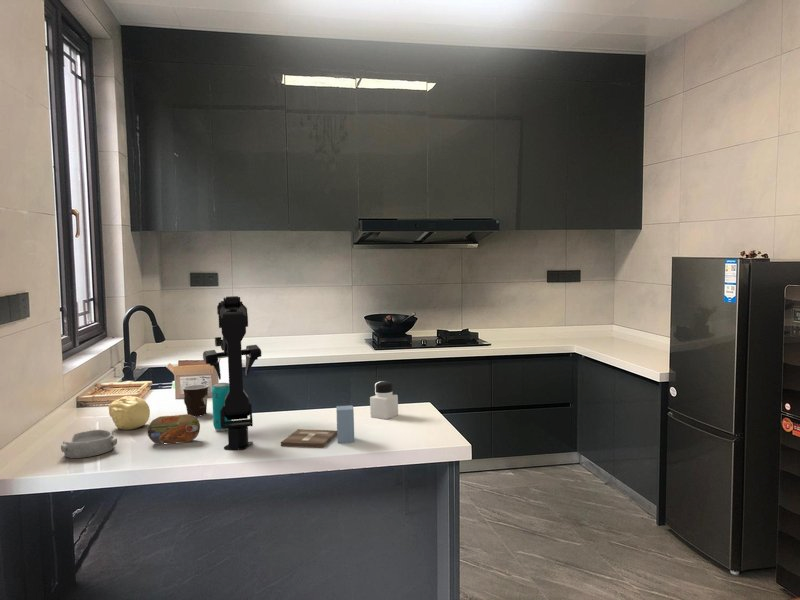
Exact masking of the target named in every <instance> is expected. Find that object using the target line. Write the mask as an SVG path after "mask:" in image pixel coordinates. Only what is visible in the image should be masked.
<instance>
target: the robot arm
mask: <svg viewBox="0 0 800 600" xmlns="http://www.w3.org/2000/svg"><path fill="white" fill-rule="evenodd" d="M216 310H217V312H216V313H217V315H218V329H221V335H222V337H221V336H220V337H218V336H217V337H214V346H215V347H220V348H221V351H222V352H217V350H215V349H210V350H204V351H203V353H202V359H203V361H204V362H205V364H206V365H209V366H211V367H214V370H215V373H216V375H217V377H218V380H219V381H220V380H221V378H222V377H221V376H222V374H221V367H220V362H219V359H223V358H227V366H228V383H229V391H228V393H227V394H226V396H225V405H222V409H221V410H220V420H221V428H223V429H225V428H228V430H227V436H228V437H227V439H228V440H227V442H228V444H227V445H225V446H223V449H224V450H246V449H247V448H249V447H250V446H251V445H253V444H254V441H249V427H253V426H254V425H253V424H254V423H253V410H252V402H250V399H249V395H248V394H247V392H245V389H244V384H243V383H244V381H243V380H244V379H243V377H244V376H243V357H242V356H245V370H244V371H245V376H246V377H247V376H249V373H250V371H251V368H252V367H253V364H254V363H255V361H256V360H259V358H261V357H262V350H261V348H260V347H259V345H257V344H250V345H246V347H245V349H242V340H243V339H244V337H245V336H246V334H247V327H249V319H248V318H249V317H248V315H249V314H248V307H246V305H244V304H243V301H241V297H240V296H238V295H237V296H236V295H235V296H234V295H231V296H229V295H228V296H225V297H223V298H221V299H220V301H219V302H218V304H217V306H216ZM225 417H226V418H227V420H232V421H225Z"/></svg>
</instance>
